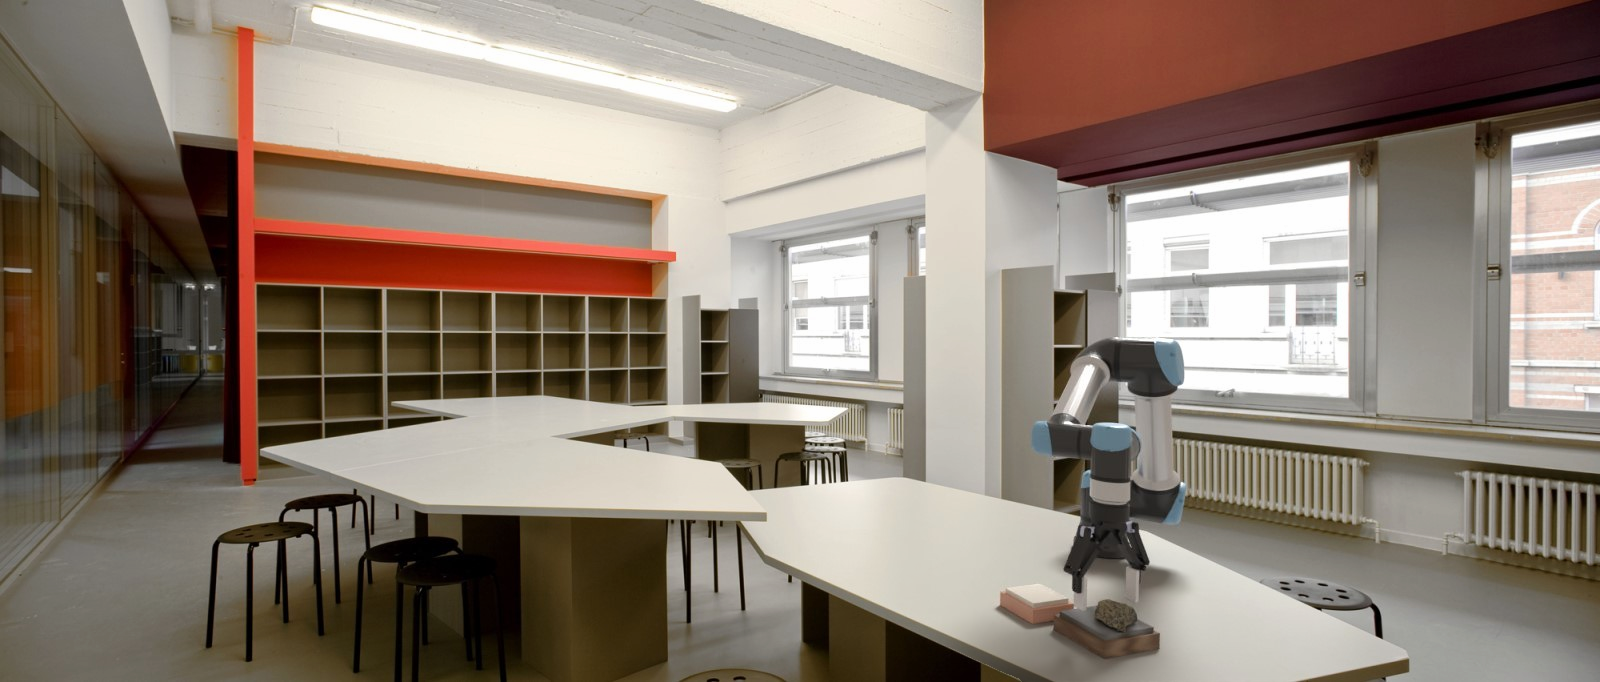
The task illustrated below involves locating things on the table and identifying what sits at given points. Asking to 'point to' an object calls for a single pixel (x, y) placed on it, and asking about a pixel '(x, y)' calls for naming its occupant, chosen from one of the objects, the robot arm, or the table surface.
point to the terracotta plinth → (1034, 602)
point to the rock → (1115, 614)
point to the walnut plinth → (1105, 633)
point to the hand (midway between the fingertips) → (1106, 604)
